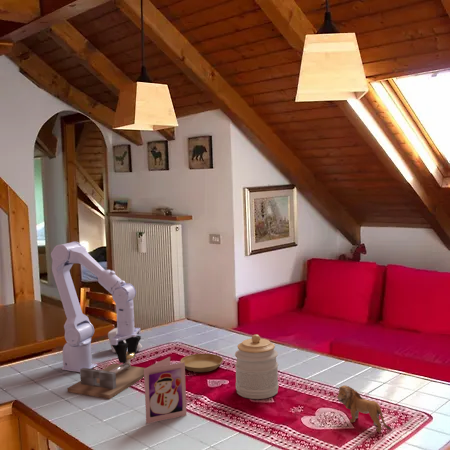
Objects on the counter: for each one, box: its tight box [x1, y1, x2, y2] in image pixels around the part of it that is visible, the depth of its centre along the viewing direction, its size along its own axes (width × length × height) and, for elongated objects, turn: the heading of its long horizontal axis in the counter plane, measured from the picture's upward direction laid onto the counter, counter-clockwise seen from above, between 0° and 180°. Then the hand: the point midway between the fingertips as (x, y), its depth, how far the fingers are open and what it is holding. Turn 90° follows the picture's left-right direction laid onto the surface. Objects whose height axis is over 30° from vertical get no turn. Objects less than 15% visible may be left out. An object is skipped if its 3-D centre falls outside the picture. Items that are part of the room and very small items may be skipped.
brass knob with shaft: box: [110, 350, 136, 374], centre depth 186 cm, size 5×13×5 cm, turn 155°
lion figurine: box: [336, 385, 392, 433], centre depth 146 cm, size 15×5×9 cm, turn 51°
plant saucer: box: [179, 352, 224, 373], centre depth 194 cm, size 15×15×3 cm
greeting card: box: [143, 356, 187, 424], centre depth 154 cm, size 11×7×15 cm, turn 114°
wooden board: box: [66, 363, 146, 400], centre depth 181 cm, size 16×24×6 cm, turn 155°
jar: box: [234, 334, 279, 400], centre depth 169 cm, size 13×13×18 cm
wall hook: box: [107, 327, 143, 354], centre depth 213 cm, size 8×10×10 cm
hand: (127, 359), depth 189 cm, fingers closed on brass knob with shaft, 5 cm apart
